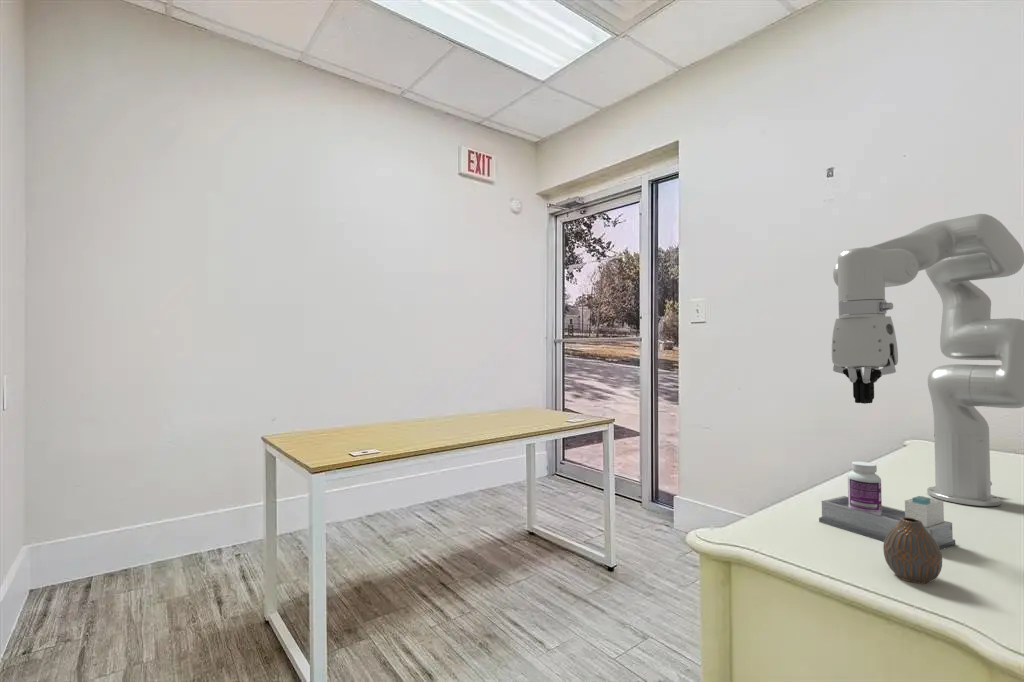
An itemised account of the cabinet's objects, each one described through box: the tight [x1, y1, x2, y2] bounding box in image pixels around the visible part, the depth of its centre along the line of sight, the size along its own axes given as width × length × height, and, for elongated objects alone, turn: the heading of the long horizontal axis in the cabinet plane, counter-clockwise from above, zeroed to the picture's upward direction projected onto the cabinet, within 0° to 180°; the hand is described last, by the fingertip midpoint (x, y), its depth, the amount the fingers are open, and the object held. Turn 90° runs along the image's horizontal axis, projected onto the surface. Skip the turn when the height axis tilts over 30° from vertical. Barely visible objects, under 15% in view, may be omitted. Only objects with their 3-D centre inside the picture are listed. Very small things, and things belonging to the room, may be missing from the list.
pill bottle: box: [847, 461, 883, 515], centre depth 94 cm, size 5×5×10 cm
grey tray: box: [818, 495, 956, 551], centre depth 91 cm, size 10×18×8 cm, turn 27°
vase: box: [882, 517, 943, 584], centre depth 73 cm, size 7×7×9 cm
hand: (863, 402), depth 95 cm, fingers closed
